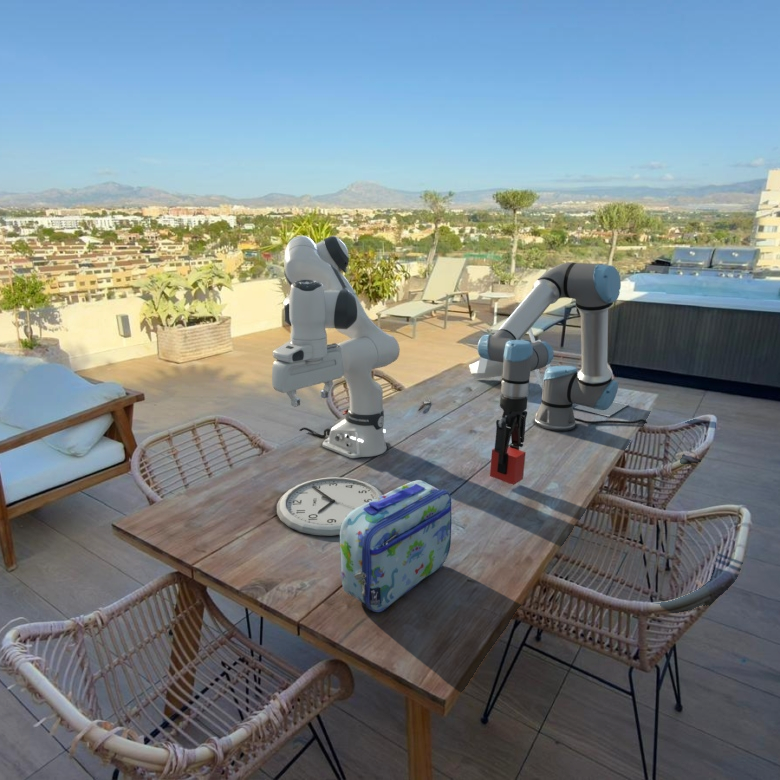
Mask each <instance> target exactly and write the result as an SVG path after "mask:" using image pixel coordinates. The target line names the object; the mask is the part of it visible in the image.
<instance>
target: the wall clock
mask: <svg viewBox="0 0 780 780" xmlns="http://www.w3.org/2000/svg"><path fill="white" fill-rule="evenodd" d="M384 494H385V493H383V492H382V491H381V490H380V489H379V488H377V487H376V486H374V485H372V484H371V483H369V482H365V481H362V480H359V479H355V478H349V477H338V476H337V477H335V476H333V477H332V476H331V477H322V478H317V479H312V480H307V481H305V482H302V483H299V484H297V485H295V486H293V487H292V488H290V489H288V490H287V491H286V492H285V493H284V494H283V495H281V496H280V498H279V499H278V502H277V503H276V515H277V517H278V518H279V520H280V521H281V522H282V523H283V524H285V525H286V526H287V527H288V528H290V529H293V530H295V531H297V532H299V533H303V534H308V535H312V536H327V537H328V536H329V537H331V536H332V537H333V536H340V530H341V526H342V523H343V521H344V519H345V518H346V516H347V515H348V514H349V513H350V512H351V511H353V510H354V509H356V508H358V507H360V506H362V505H364V504H366V503H368V502H370V501H372V500H374V499H376V498H378V497H380V496H382V495H384Z"/></svg>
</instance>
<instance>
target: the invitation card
mask: <svg viewBox="0 0 780 780" xmlns="http://www.w3.org/2000/svg"><path fill="white" fill-rule="evenodd" d="M628 406H629V404H627V403H623V402H618V401H615V400H614V401H613V403H612V404H611V406H610V407H609V408H608V409H606V410H599V409H594V408H590V407H586V406H582V405H578V404H577V405H575V406H574V407H573V409H575V410H581V411H584V412H587V413H593V414H596V415H600V416H604V417H608V418H609V417H611V416H613V415H614V414H616V413H617V412H619V411H621V410H623V409H624V408H626V407H628Z"/></svg>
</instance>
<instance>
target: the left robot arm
mask: <svg viewBox="0 0 780 780" xmlns="http://www.w3.org/2000/svg"><path fill="white" fill-rule="evenodd" d="M283 255H284V256H283V267H284V268H283V275H284V277H285V280H286V282H287V284H288V285H289V286H290V291H289V294H288V295H287V296H286V297H285V298H284V300H283V306H284V322H285V323H286V324H288V326H290V327H291V331H290V335H289V336H290V340H288V341H286V342H285V343H283V344H282V345H280V346H278V347H277V348H275V349H274V350H273V351H272V356H273V359H275V360H274V362H273V363H272V367H271V384H272V388H273V389H274V390H275V391H276V392H279V393H281V394H285V393H286V395H287V396H288V398H289V399H290V406H291V407H293V408H297V407H299V406H301V399H300V398H298V397H296V394H297V390H302V389H304V388H305V389H306V388H308V387H312V386H316V385H320V384H324V385H323V388H322V390H320V398H321V399H328V398H330V391H331V390H332V387H333V384H334V381H335V380H336V381H337V380H339V379H342V378H344V379H345V381H346V384H347V387H348V397H349V407H348V408H346V409H345V410H344V411H343V412H342V415H343V416H344V415H345V417H344V418H343V419H342V420H340V421H338V422H337V423H335V424H333V425H331V426H329V427H327V428H325V429H324V430H323V434H320V433H317V432H316V431H314V430H312V429H311V428H308V427H306V426H305V427H301V428H300V429H299V432H302V431H307V432H309V433H311V434H313V435H314V436H316V437H318V438H325V437H326V436H328V437H327V438H325V440H323V441H322V444H321V446H322V447H323V449H327V450H330V451H332V452H334V453H336V454H339V455H341V456H344V457H347V458H349V459H358V458H368V457H369V458H370V457H377V456H380V455H382V454H384V453H385V452H386V451H387V450H388V447H387V444H386V439H385V433H386V429H384V424H385V410H384V408H383V406H384V405H383V403H384V401H383V400H384V390H383V387H382V385H381V384H380V383H379V382H377V381H376V380H374V379H373V375H372V370H376V369H380V368H384V367H387V366H389V365H391V364H393V363H394V362H396V361H398V359H399V356H400V352H401V350H400V344H399V342H398V340H397V338H395V337H394V335H391V334H389V333H387V332H385V331H384V330H382V329H381V328H380V327H378V325H376V323H375V322H373V321H372V319H371V318H370V317H369V315H368V314H367V312H366V311H365V309H364V307H363V305H362V303H361V302H360V300H359V297H358V295H357V294H356V291H355V290H354V288H353V287H352V285H351V283H350V282H349V280H348V279H347V277H346V276H345V275H344V274H346V273H347V272H348V266H349V263H350V255H349V250H348V247H347V246H346V244H345V243H344V242H343V241H342V240H341V239H340V238H339V237H338V236H335V235H331V236H328V237H325V238H324V239H323V240H320V241H319V242H317V243H316V242H315V241H314V240H313V239H312V238H310V237H308V236H306V235H298V236H295V237H293V238H291V240H290V241H289V242H288V243H287V245H286V247H285V251H284V254H283ZM342 272H343V273H344V274H343V273H342ZM326 329H335V330H336V331H337V332H339V333H340V334H342V335H345V336H347V337H348V338H349V339H346V340H343V341H341V342H339V343H337V342H334V343H331V344H328V334H327V331H326Z"/></svg>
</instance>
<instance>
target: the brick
mask: <svg viewBox="0 0 780 780" xmlns="http://www.w3.org/2000/svg"><path fill="white" fill-rule="evenodd" d="M494 450H495V447H494V448H492V449H491V457H490V458H491V459H490V469H489V477H491V478H494V479H496V480H498V481H501V482H504V483H507V484H509V485H512V486H514V485H516V484H518V483H520V482H521V481H522V480H523V479H524V471H525V462H526V451H523V450H521V449H519V450H517V449H514V448H511V447H510V446H508V450H507V453H509V454H508V465H507V474H506V475H505V474H502V473H499V472H497V469H498V458H499V453H497V452H495V451H494Z"/></svg>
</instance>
